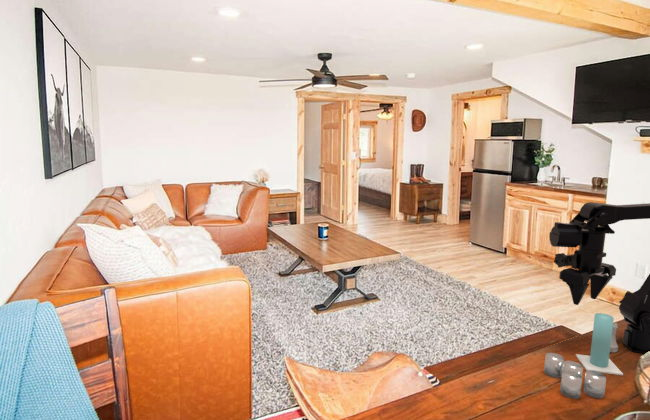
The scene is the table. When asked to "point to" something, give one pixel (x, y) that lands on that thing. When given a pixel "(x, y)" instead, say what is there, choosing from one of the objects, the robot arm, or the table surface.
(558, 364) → the spacer
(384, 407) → the table surface
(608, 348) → the teal post
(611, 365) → the grey mat
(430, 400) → the table surface
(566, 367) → the spacer
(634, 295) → the robot arm
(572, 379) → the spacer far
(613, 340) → the rook chess piece
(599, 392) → the block
